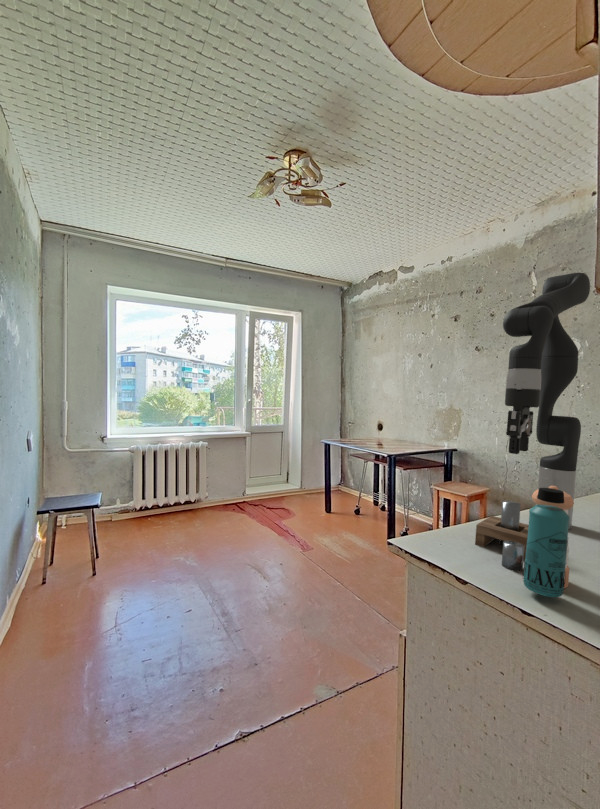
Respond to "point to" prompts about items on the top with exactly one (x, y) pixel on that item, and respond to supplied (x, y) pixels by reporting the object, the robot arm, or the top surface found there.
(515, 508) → the tall pin
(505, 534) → the hole bridge
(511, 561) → the short pin
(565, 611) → the top surface
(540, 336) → the robot arm
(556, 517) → the beverage bottle
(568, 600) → the top surface
